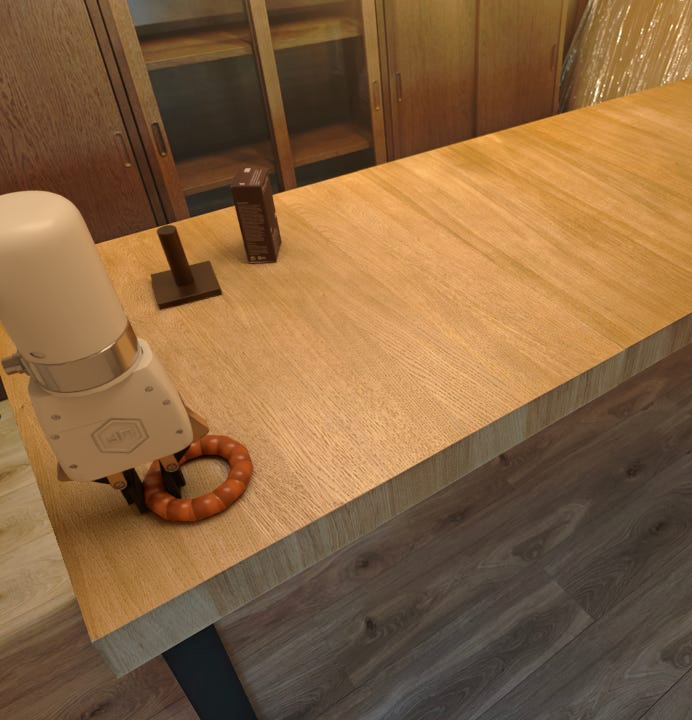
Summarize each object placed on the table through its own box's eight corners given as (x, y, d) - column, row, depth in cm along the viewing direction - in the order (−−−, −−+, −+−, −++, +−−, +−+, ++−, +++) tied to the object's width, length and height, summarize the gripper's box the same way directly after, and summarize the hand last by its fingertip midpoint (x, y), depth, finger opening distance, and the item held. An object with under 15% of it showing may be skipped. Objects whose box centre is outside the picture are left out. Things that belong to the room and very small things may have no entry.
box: (279, 262, 94) (261, 185, 86) (247, 263, 94) (226, 186, 86) (284, 241, 98) (268, 166, 90) (254, 242, 98) (235, 167, 90)
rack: (160, 310, 85) (136, 251, 79) (152, 280, 90) (129, 223, 84) (222, 294, 88) (203, 236, 82) (211, 266, 93) (193, 209, 87)
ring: (154, 541, 58) (146, 528, 57) (141, 465, 65) (134, 452, 64) (264, 499, 62) (259, 486, 61) (241, 431, 69) (237, 418, 67)
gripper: (-40, 416, 45) (69, 561, 57) (199, 348, 50) (253, 493, 62) (-33, 354, 50) (66, 500, 62) (184, 298, 55) (236, 442, 67)
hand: (160, 495), depth 62 cm, fingers closed on ring, 2 cm apart
